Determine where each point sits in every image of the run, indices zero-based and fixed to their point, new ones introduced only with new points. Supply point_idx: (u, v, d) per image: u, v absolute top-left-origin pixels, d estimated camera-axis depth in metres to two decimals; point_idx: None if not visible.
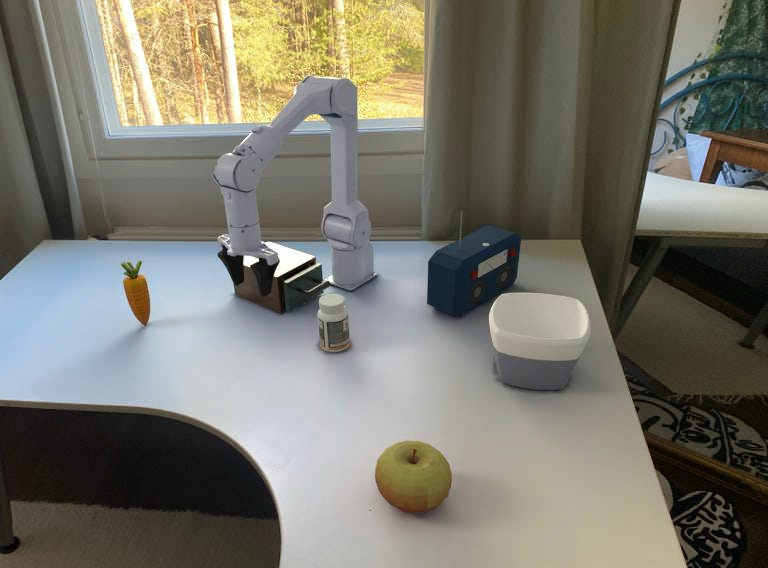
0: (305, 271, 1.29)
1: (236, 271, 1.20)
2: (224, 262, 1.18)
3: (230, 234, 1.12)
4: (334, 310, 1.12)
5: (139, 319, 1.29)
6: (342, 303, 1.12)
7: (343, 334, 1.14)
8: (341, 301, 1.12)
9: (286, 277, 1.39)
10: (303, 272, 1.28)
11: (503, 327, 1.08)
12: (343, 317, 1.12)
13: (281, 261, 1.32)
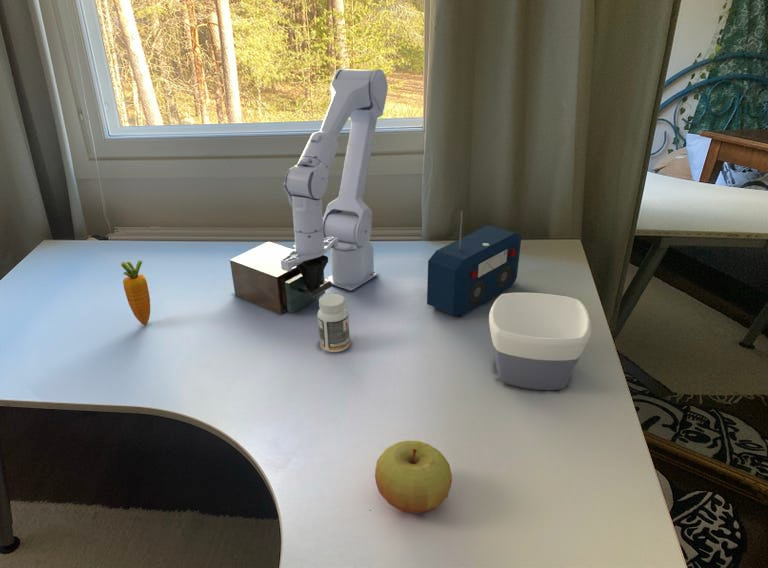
0: None
1: None
2: None
3: None
4: (334, 310, 1.12)
5: (139, 319, 1.29)
6: (342, 303, 1.12)
7: (343, 334, 1.14)
8: (341, 301, 1.12)
9: (287, 278, 1.39)
10: None
11: (503, 327, 1.08)
12: (342, 317, 1.12)
13: None
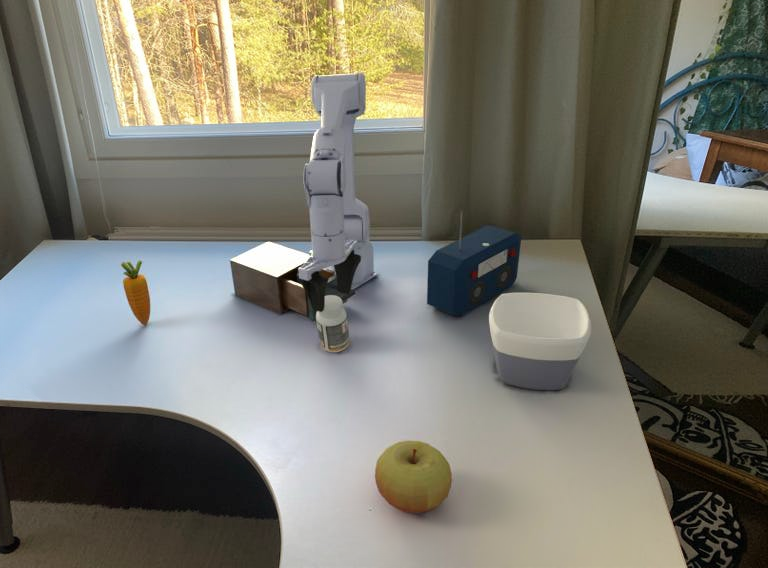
0: (329, 279, 1.24)
1: (341, 278, 1.15)
2: None
3: None
4: (333, 315, 1.10)
5: (139, 319, 1.29)
6: (340, 307, 1.10)
7: (343, 335, 1.14)
8: (339, 305, 1.11)
9: None
10: None
11: (503, 327, 1.08)
12: (341, 320, 1.11)
13: (281, 261, 1.32)
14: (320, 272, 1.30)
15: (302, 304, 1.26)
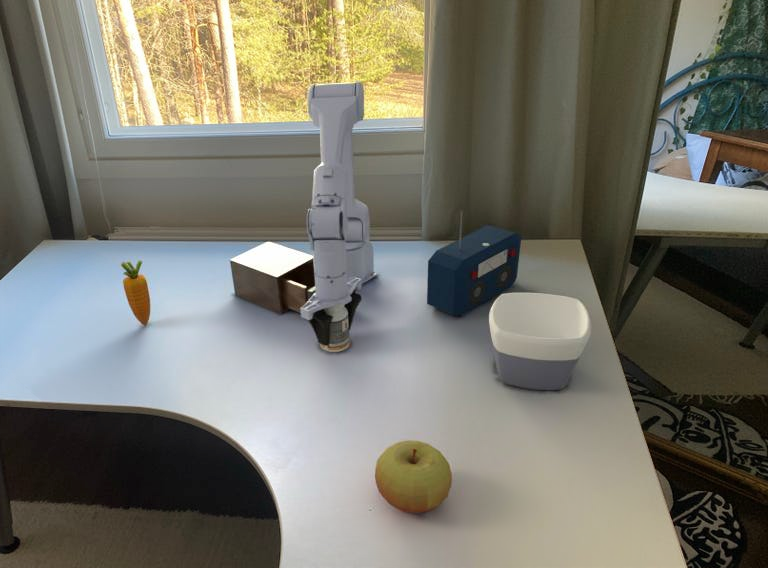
0: None
1: None
2: (327, 324, 1.11)
3: (340, 284, 1.09)
4: (333, 310, 1.12)
5: (139, 319, 1.29)
6: (341, 303, 1.12)
7: (342, 334, 1.14)
8: None
9: (308, 285, 1.35)
10: None
11: (503, 327, 1.08)
12: (342, 317, 1.12)
13: (281, 261, 1.32)
14: None
15: (302, 304, 1.26)
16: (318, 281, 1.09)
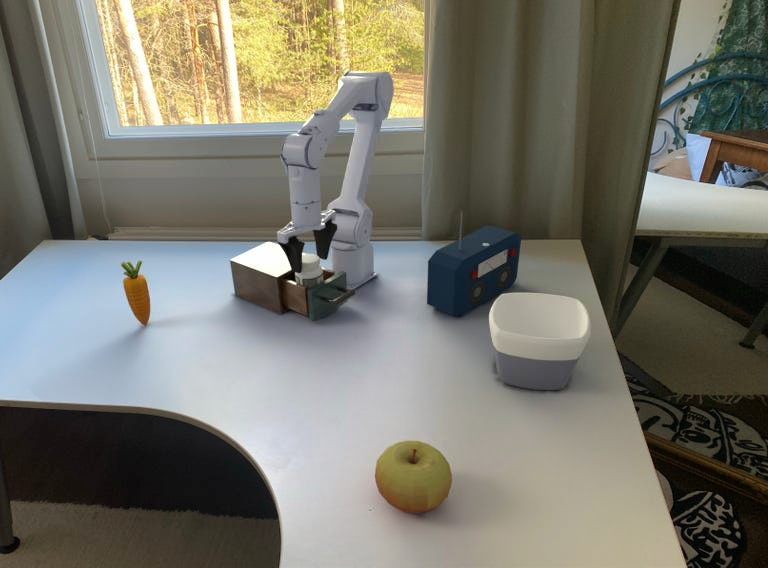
0: (329, 279, 1.24)
1: None
2: (299, 251, 1.18)
3: (314, 210, 1.17)
4: (309, 268, 1.23)
5: (139, 319, 1.29)
6: (316, 262, 1.23)
7: None
8: (315, 260, 1.23)
9: None
10: (327, 281, 1.24)
11: (503, 327, 1.08)
12: (317, 274, 1.23)
13: (281, 261, 1.32)
14: None
15: (302, 304, 1.26)
16: (294, 208, 1.17)
